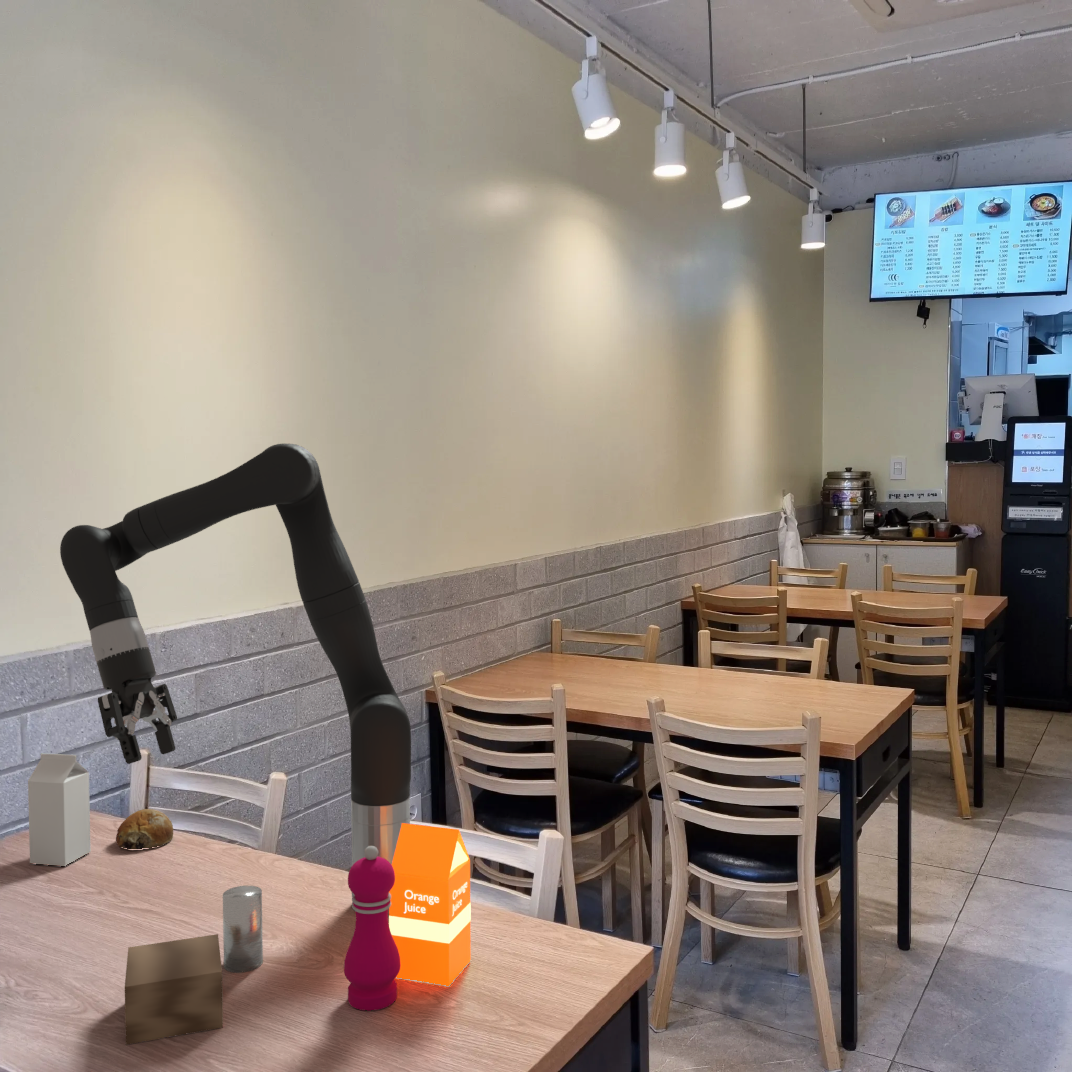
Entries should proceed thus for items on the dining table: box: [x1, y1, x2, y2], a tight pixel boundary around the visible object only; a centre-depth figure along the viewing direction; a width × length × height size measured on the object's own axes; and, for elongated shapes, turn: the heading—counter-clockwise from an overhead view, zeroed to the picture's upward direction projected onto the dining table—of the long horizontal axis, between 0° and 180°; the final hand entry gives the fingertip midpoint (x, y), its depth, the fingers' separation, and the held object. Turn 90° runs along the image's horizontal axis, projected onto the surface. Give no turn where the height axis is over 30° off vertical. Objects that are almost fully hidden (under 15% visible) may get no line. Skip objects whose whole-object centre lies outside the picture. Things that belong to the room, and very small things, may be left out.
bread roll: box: [115, 808, 174, 849], centre depth 187 cm, size 10×10×8 cm
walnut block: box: [124, 933, 224, 1045], centre depth 125 cm, size 11×11×7 cm
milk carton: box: [27, 753, 91, 867], centre depth 178 cm, size 7×7×19 cm
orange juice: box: [388, 823, 472, 986], centre depth 136 cm, size 8×9×20 cm
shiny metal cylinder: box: [222, 885, 264, 973], centre depth 138 cm, size 5×5×10 cm
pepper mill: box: [343, 846, 401, 1012], centre depth 128 cm, size 7×7×20 cm
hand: (152, 757), depth 147 cm, fingers open, 8 cm apart
